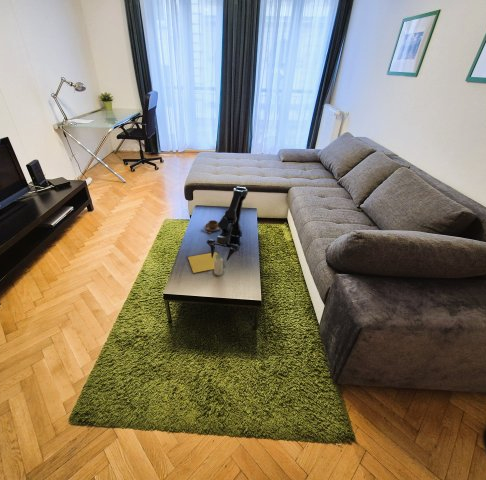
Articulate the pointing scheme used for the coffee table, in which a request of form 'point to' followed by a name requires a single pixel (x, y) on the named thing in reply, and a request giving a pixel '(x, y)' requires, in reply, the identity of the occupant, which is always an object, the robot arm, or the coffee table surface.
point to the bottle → (218, 264)
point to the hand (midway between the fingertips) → (219, 259)
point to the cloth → (202, 262)
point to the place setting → (212, 226)
